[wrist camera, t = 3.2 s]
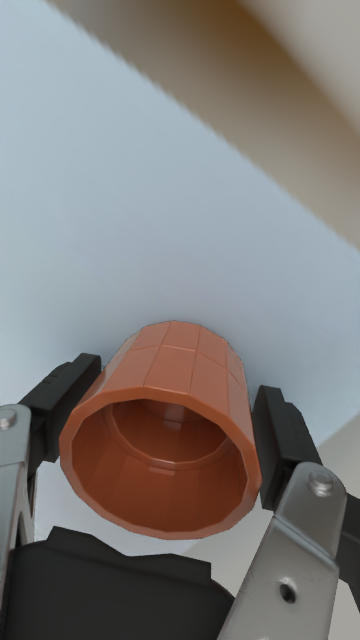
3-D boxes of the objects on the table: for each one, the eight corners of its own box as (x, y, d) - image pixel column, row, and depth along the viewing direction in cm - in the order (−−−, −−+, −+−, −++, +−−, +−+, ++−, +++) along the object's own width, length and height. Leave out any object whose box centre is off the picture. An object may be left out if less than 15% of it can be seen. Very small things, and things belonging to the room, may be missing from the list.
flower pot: (191, 289, 11) (170, 345, 6) (270, 393, 12) (302, 505, 7) (93, 360, 13) (20, 444, 8) (170, 443, 14) (145, 558, 9)
